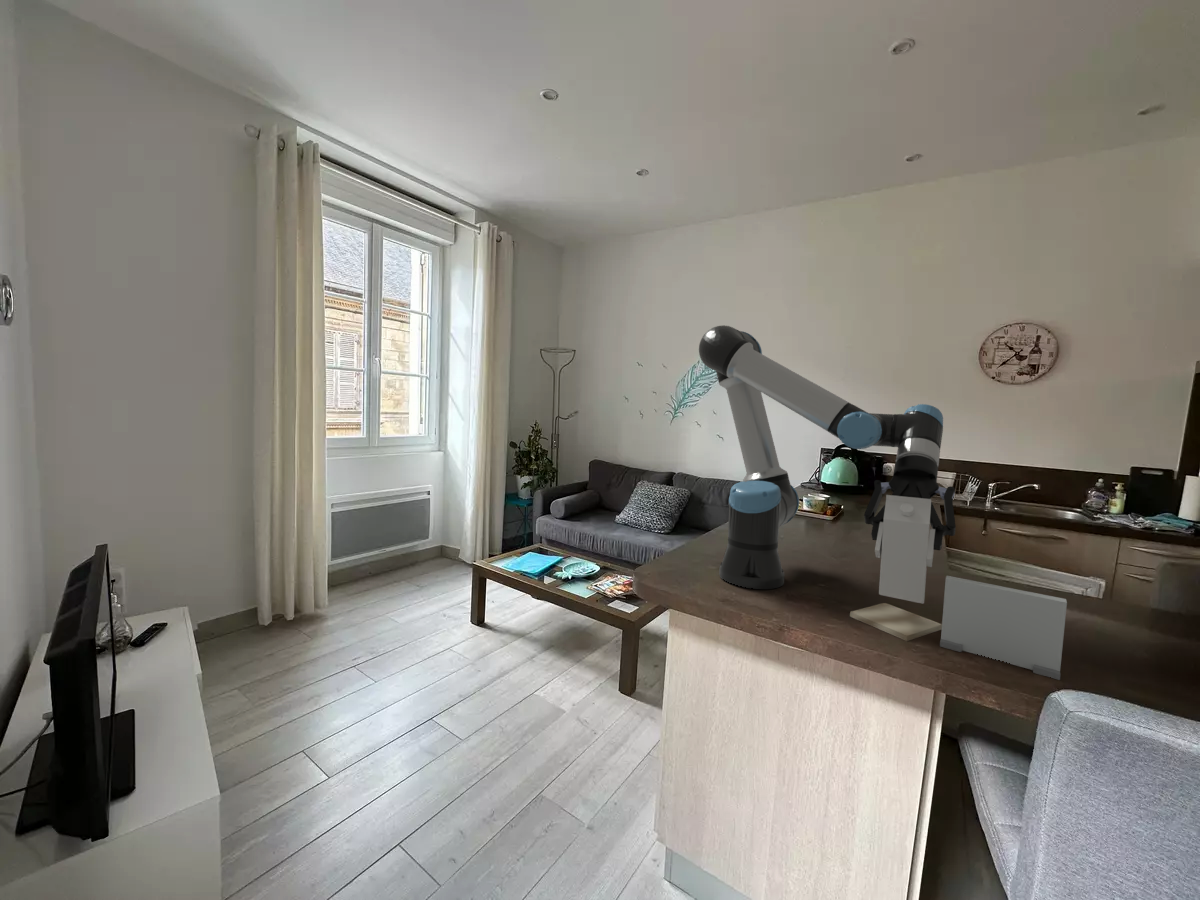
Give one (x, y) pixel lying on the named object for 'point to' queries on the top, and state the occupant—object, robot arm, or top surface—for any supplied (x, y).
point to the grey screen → (1004, 624)
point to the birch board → (896, 621)
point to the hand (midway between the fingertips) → (902, 558)
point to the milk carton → (905, 548)
